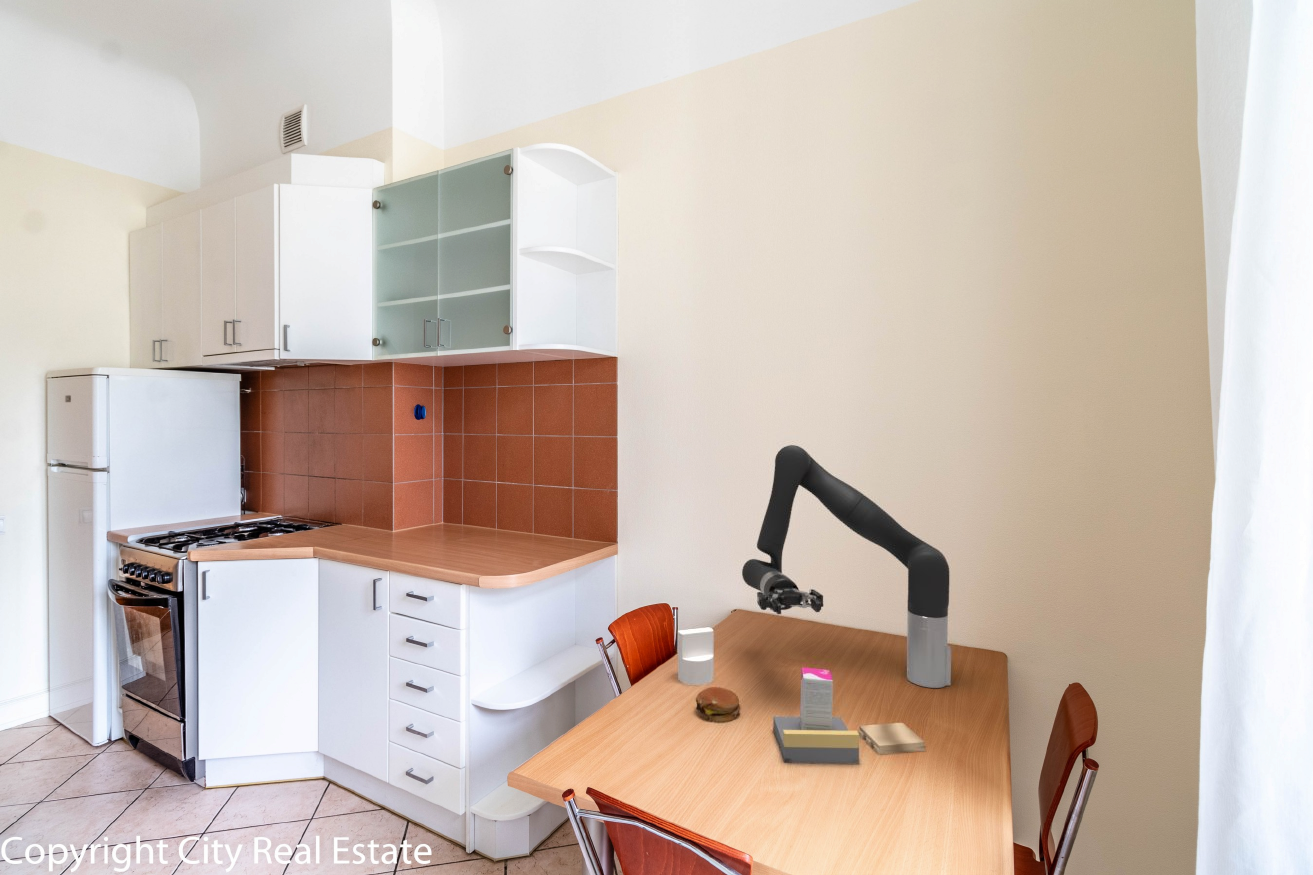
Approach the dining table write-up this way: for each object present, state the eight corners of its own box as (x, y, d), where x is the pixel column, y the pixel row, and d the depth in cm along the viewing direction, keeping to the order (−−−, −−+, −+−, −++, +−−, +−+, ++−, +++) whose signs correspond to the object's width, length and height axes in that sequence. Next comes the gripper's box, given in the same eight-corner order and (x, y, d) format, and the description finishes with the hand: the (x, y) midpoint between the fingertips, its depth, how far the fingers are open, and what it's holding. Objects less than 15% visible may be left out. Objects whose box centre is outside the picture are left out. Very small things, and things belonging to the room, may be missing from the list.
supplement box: (832, 739, 115) (833, 680, 115) (801, 736, 116) (801, 678, 116) (829, 724, 121) (829, 668, 121) (799, 722, 122) (799, 666, 122)
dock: (840, 731, 124) (840, 705, 124) (858, 763, 112) (859, 734, 112) (773, 730, 125) (773, 704, 125) (784, 762, 113) (784, 733, 113)
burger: (735, 702, 138) (735, 682, 137) (743, 722, 128) (744, 701, 128) (692, 704, 137) (692, 683, 137) (698, 724, 128) (698, 702, 128)
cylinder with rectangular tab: (705, 668, 157) (705, 623, 156) (719, 682, 148) (719, 634, 148) (672, 673, 154) (673, 626, 154) (685, 687, 145) (685, 638, 145)
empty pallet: (903, 731, 125) (903, 722, 125) (925, 751, 117) (925, 741, 117) (858, 735, 123) (858, 725, 123) (878, 755, 116) (878, 745, 116)
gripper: (749, 575, 145) (766, 592, 129) (806, 572, 146) (830, 589, 130) (750, 606, 145) (767, 627, 129) (807, 603, 146) (831, 624, 130)
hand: (799, 608), depth 129 cm, fingers open, 8 cm apart
